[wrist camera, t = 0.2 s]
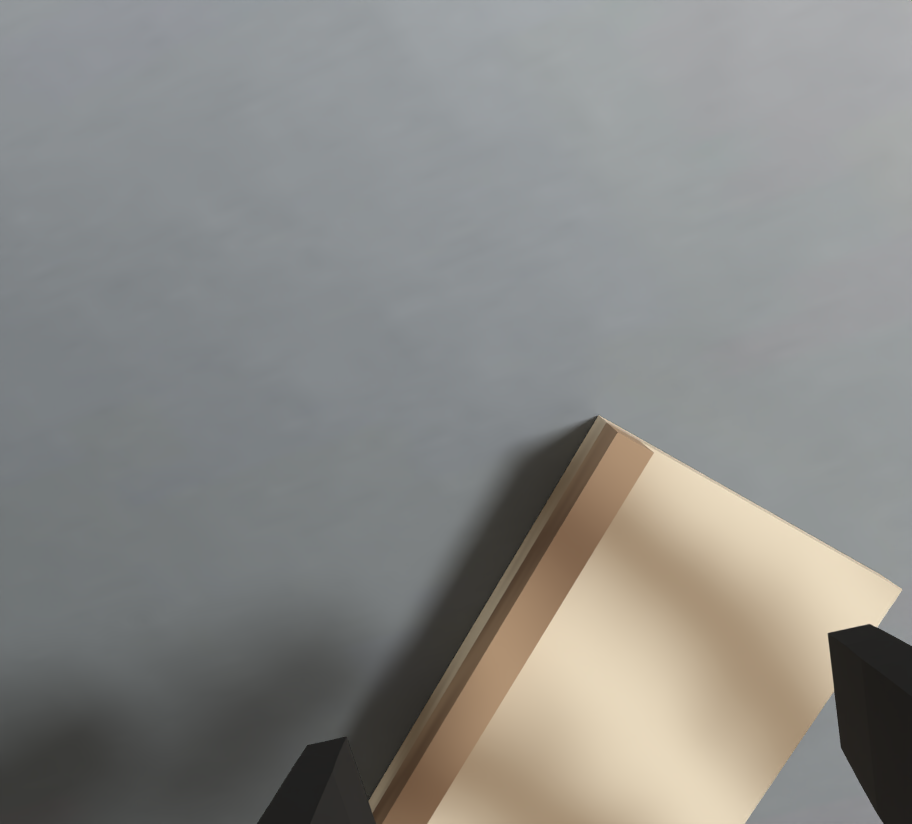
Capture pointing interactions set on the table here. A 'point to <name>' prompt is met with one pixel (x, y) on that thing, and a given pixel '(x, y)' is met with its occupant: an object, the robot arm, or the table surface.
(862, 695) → the robot arm
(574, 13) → the table surface
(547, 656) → the board
